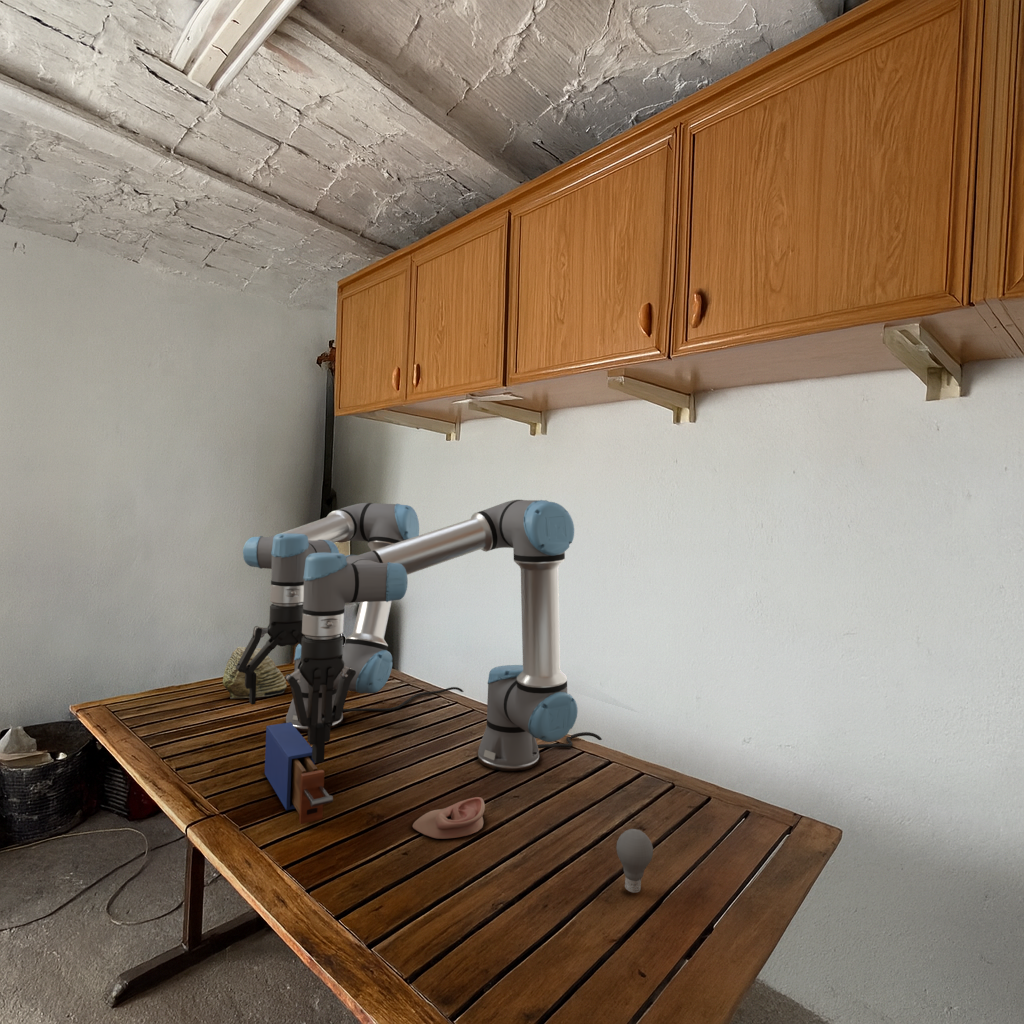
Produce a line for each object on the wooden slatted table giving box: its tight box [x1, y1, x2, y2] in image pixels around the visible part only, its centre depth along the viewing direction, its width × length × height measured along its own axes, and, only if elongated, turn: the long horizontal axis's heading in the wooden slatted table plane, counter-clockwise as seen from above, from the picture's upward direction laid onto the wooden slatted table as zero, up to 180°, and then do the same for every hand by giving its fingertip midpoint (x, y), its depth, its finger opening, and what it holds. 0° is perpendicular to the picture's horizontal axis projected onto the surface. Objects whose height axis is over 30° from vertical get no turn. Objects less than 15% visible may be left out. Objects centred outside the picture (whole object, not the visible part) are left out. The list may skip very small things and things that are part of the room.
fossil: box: [222, 646, 288, 699], centre depth 198 cm, size 9×18×15 cm, turn 132°
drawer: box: [290, 756, 334, 825], centre depth 127 cm, size 24×4×9 cm, turn 34°
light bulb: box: [615, 828, 654, 894], centre depth 106 cm, size 6×6×10 cm
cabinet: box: [264, 722, 316, 811], centre depth 137 cm, size 19×5×11 cm, turn 34°
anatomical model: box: [412, 796, 486, 840], centre depth 124 cm, size 13×4×12 cm
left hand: (284, 698), depth 141 cm, fingers open, 13 cm apart
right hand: (317, 759), depth 119 cm, fingers closed
